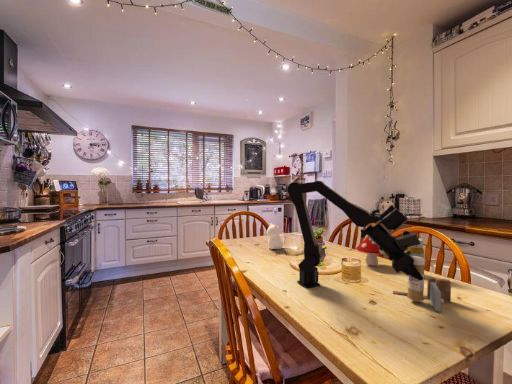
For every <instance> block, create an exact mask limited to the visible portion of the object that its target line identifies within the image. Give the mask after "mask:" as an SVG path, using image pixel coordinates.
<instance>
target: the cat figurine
mask: <svg viewBox="0 0 512 384" xmlns="http://www.w3.org/2000/svg"><path fill="white" fill-rule="evenodd" d="M280 234H281V229H280V227H279V226H278V225H277V224H273V223H271V222H270V223H269V226H268V228H267V229H266V235H267V236H268V237H269V238H268V240H267V246H268V249H269V248H270V250H272V249H277V250H282V249H283V247H284V246H285V245H286V242H285V237H286V238H287V235H286V233H285V232H283V233H282V235H283V237H282V238H283V240H282V238H281V236H280Z"/></svg>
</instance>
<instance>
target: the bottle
mask: <svg viewBox="0 0 512 384" xmlns="http://www.w3.org/2000/svg"><path fill="white" fill-rule="evenodd" d="M418 239H419V241H420V243H421V244H419V245H414V246H410V247H408V250H407V249H406V251H404V252H408V251H410V252H411V256H418V257H422V258H424V259H425V250H424V240H423V239H422V238H419V237H418ZM406 275H407V276H408V274H406Z"/></svg>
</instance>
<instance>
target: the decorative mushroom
mask: <svg viewBox="0 0 512 384" xmlns="http://www.w3.org/2000/svg"><path fill="white" fill-rule="evenodd" d="M355 250H357V251H359V252H360V253H364V254H366V257H365V264H366V265H368V266H370V267H376V266H377V265H378V264H379V259H378V255H386V254H385V253H384V252H383V251H381V250H380V249H379V247H378V246H377V245H376V244H375V243H374V242H373V241H372V240H371V239H370V238H369V237H368V236H367V235H366V236H365V238H363V240H362V241H361V242H360V243H358V244H357V245H356V246H355Z"/></svg>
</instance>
